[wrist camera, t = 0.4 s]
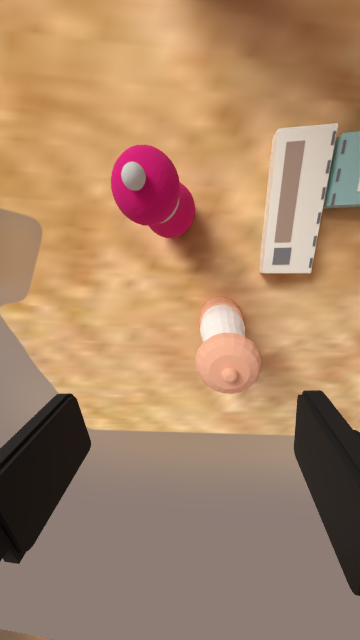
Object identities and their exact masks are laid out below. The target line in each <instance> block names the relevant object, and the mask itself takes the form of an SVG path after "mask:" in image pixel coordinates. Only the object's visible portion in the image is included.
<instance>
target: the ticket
mask: <svg viewBox="0 0 360 640" xmlns="http://www.w3.org/2000/svg"><path fill="white" fill-rule="evenodd" d="M337 128H338V123H333V124H322V125H311V126H301V127H290V128H279V129H278V130H277V131H276V133H275V135H274V137H273V138H272V148H271V158H270V167H269V177H268V187H267V196H266V206H265V216H264V226H263V235H262V245H261V255H260V264H259V272H261V273H311V269H312V264H313V259H314V253H315V248H316V242H317V237H318V231H319V226H320V221H321V215H322V210H323V204H324V199H325V193H326V188H327V183H328V177H329V172H330V166H331V161H332V155H333V150H334V145H335V139H336V134H337Z"/></svg>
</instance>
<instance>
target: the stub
mask: <svg viewBox="0 0 360 640" xmlns="http://www.w3.org/2000/svg"><path fill="white" fill-rule="evenodd" d="M353 207H360V131H356V132H344V133H343V134H341V135H340V136H339V137H338V138H337V139H336V140H335V145H334V150H333V155H332V161H331V166H330V172H329V177H328V183H327V188H326V193H325V199H324V204H323V209H329V208H353Z"/></svg>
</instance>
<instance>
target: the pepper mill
mask: <svg viewBox="0 0 360 640" xmlns="http://www.w3.org/2000/svg"><path fill="white" fill-rule="evenodd" d="M111 188H112V193H113V197H114V199H115V202H116V204H117V205H118V207H119V209H120V210H121V212H122V213H123V214H124V215H125V216H126V217H128V218H129V219H130V220H132V221H134V222H135V223H138V224H141V225H148V226H149V227H150V228H151V229H152V230H153V231H154V232H155V233H156V234H158V235H160V236H162V237H165V238H174V237H178V236H180V235H182V234H183V233H185V232H186V231H187V230H188V229H189V227H190V226H191V224H192V222H193V219H194V215H195V204H194V200H193V197H192V195H191V193H190V192H189V190H188V189H187V188H186V187H185V186H184V185H183V184H181V183H180V182H179V177H178V174H177V171H176V169H175V167H174V165H173V163H172V162H171V160H170V159H169V158H168V157H167V156H166V155H165V154H164V153H163V152H162V151H160V150H158V149H157V148H155V147H153V146H149V145H136V146H132V147H130V148H129V149H127V150H125V151H124V152H123V153H122V154H121V155H120V157H119V158H118V159H117V161H116V163H115V165H114V168H113V171H112V176H111Z"/></svg>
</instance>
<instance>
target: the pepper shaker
mask: <svg viewBox="0 0 360 640" xmlns="http://www.w3.org/2000/svg"><path fill="white" fill-rule="evenodd" d="M200 328H201V337H202V340H203V344H202V345H201V346H200V348H199V349H198V351H197V354H196V357H195V365H196V369H197V372H198V374H199V377H200V379H201V380H202V381H203V382H204V383H205V384H206V385H207V386H209V387H210V388H212V389H213V390H215V391H218V392H221V393H230V394H233V393H238V392H241V391H243V390H245V389H247V388H249V387H250V386H251V385H252V384H253V383H254V382H255V381H256V380H257V378H258V376H259V374H260V372H261V361H262V359H261V356H260V352H259V350H258V348H257V347H256V346H255V344H254V343H253V342H252V341H250V340H249V339H247V338H246V337H245V326H244V323H243V317H242V313H241V311H240V309H239V307H238V306H237V305H236V303H235V302H233V301H232V300H231V299H228V298H225V297H216V298H213V299H211V300H209V301H208V302H206V303H205V305H204V306H203V307H202V310H201V313H200Z"/></svg>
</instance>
